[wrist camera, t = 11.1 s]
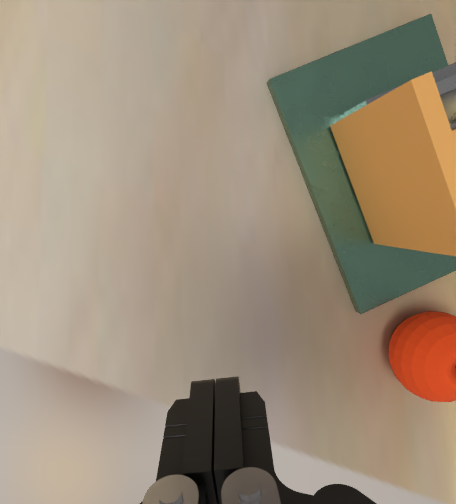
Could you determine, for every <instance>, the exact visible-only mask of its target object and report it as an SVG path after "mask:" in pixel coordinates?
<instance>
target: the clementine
mask: <svg viewBox="0 0 456 504" xmlns="http://www.w3.org/2000/svg"><path fill="white" fill-rule="evenodd" d="M388 353H389V360H390V364H391V367H392V370H393V372H394V374H395V376H396V377H397V379H398V380H399V381H400V382H401V383H402V385H403V386H404V387H405V388H406V389H407V390H409V391H410V392H412V393H413V394H415V395H417V396H419V397H421V398H423V399H426V400H430V401H438V402H451V401H455V400H456V316H453V315H450V314H447V313H442V312H431V311H428V312H423V313H419V314H416V315H413V316H411V317H409V318H407V319H405V320H404V321H403V322H402V323H401V324H400V325H399V326H398V327H397V328H396V330H395V331H394V333H393V335H392V337H391V340H390V343H389V351H388Z"/></svg>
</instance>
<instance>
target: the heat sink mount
mask: <svg viewBox="0 0 456 504" xmlns="http://www.w3.org/2000/svg"><path fill="white" fill-rule="evenodd" d="M431 71H432V74H433V77H434V80H435V83H436V85H437V88H438V91H439V94H440V97H441V100H442V103H443V106H444V109H445V112H446V115H447V118H448V121H449V124H450V127H451V130H452V129H455V128H456V63H453V64H451V65H449V66H448V63H447V60H446V57H445V54H444V51H443V48H442V45H441V42H440V39H439V36H438V33H437V30H436V27H435V24H434V21H433V18H432V15H431V14H429V15H427V16H424V17H422V18H419V19H417V20H414V21H412V22H409V23H407V24H405V25H402V26H400V27H397V28H395V29H392V30H390V31H387V32H385V33H382V34H380V35H377V36H375V37H372V38H370V39H368V40H365V41H363V42H360V43H358V44H355V45H353V46H350V47H348V48H345V49H343V50H340V51H338V52H335V53H333V54H331V55H328V56H326V57H323V58H321V59H318V60H316V61H313V62H311V63H308V64H306V65H303V66H301V67H298V68H296V69H294V70H291V71H289V72H286V73H284V74H281V75H279V76H276V77H274V78H271V79H269V81H268V82H267V85H268V87H269V90H270V92H271V95H272V98H273V100H274V103H275V105H276V108H277V110H278V113H279V116H280V118H281V121H282V123H283V126H284V128H285V131H286V134H287V136H288V139H289V141H290V144H291V146H292V149H293V152H294V154H295V157H296V159H297V162H298V164H299V167H300V169H301V172H302V175H303V177H304V180H305V182H306V185H307V187H308V190H309V193H310V195H311V198H312V200H313V203H314V205H315V208H316V211H317V213H318V216H319V218H320V221H321V223H322V226H323V229H324V231H325V234H326V236H327V239H328V241H329V244H330V246H331V249H332V252H333V254H334V257H335V259H336V262H337V264H338V267H339V270H340V272H341V275H342V277H343V280H344V282H345V285H346V288H347V290H348V293H349V295H350V298H351V300H352V303H353V306H354V308H355V311H356V312H358V313H360V314H362V313H364V312H366V311H368V310H370V309H373V308H375V307H377V306H379V305H381V304H383V303H386V302H388V301H390V300H392V299H394V298H397V297H399V296H401V295H403V294H405V293H407V292H410V291H412V290H414V289H416V288H418V287H421V286H423V285H425V284H427V283H429V282H431V281H434V280H436V279H438V278H440V277H442V276H445V275H447V274H449V273H451V272H453V271H455V270H456V256H450V255H443V254H437V253H430V252H424V251H417V250H411V249H404V248H398V247H391V246H385V245H378V244H374V242H373V239H372V237H371V234H370V231H369V229H368V226H367V223H366V221H365V218H364V215H363V213H362V210H361V207H360V205H359V202H358V199H357V197H356V194H355V191H354V189H353V186H352V183H351V181H350V178H349V175H348V173H347V170H346V167H345V165H344V162H343V159H342V157H341V154H340V151H339V149H338V146H337V143H336V141H335V138H334V135H333V133H332V130H331V127H330V126H331V125H332V124H334V123H336V122H338V121H339V120H341V119H343V118H345V117H346V116H348V115H350V114H352V113H353V112H355V111H357V110H359V109H361V108H362V107H364V106H366V105H368V104H369V103H371V102H373V101H375V100H376V99H378V98H380V97H382V96H383V95H385V94H387V93H389V92H391V91H392V90H394V89H396V88H398V87H399V86H401V85H403V84H405V83H406V82H408V81H410V80H412V79H414V78H417V77H419V76H422V75H424V74H426V73H429V72H431Z"/></svg>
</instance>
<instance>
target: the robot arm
mask: <svg viewBox="0 0 456 504" xmlns="http://www.w3.org/2000/svg"><path fill="white" fill-rule="evenodd" d="M165 426H166V428H165V431H164V439H163V443H162V449H161V455H160V461H159V467H158V473H157V479H156V482H155V483H154V484H153V485H152V486H151V487H150V488H149V489H148V490H147V493H146V494H145V496H144V499H143V502H141V503H140V504H376V503H375V502H373V501H372V500H371V499H369V498H368V497H366V496H365V495H364V494H362V493H361V492H359V491H358V490H356V489H355V488H353V487H350V486H347V485H343V484H332V485H328V486H325V487H323V488H321V489H320V490H318V491H317V492H316V493H315V495H314V496H313V495H308V494H303V493H299V492H296V491H293V490H291V489H289V488H288V487H286V486H285V485H284V484H282V483H281V481H280V480H279V479H278V478H277V476H276V474H275V471H274V466H273V459H272V451H271V444H270V437H269V430H268V423H267V415H266V408H265V402H264V401H263V399H262V398H261V397H260V395H259V394H258V393H257V392H256V391H255V392H246V393H241V392H240V384H239V377H229V378H220V379H216V384H215V380H214V379H211V380H202V381H192V382H191V389H190V398H189V399H180V400H176V401H175V402H174V404H173V405H172V407H171V408H170V409H169V411H168V413H167V419H166V425H165Z"/></svg>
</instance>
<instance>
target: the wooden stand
mask: <svg viewBox="0 0 456 504" xmlns="http://www.w3.org/2000/svg"><path fill="white" fill-rule="evenodd" d="M330 127H331V130H332V133H333V135H334V138H335V141H336V143H337V146H338V149H339V151H340V154H341V157H342V159H343V162H344V165H345V167H346V170H347V173H348V175H349V178H350V181H351V183H352V186H353V189H354V191H355V194H356V197H357V199H358V202H359V205H360V207H361V210H362V213H363V215H364V218H365V221H366V223H367V226H368V229H369V231H370V234H371V237H372V239H373V242H374V244H378V245H385V246H391V247H398V248H404V249H411V250H417V251H424V252H430V253H437V254H443V255H450V256H456V128H455V129H452V130H451V127H450V124H449V121H448V118H447V115H446V112H445V109H444V106H443V103H442V100H441V97H440V94H439V91H438V88H437V85H436V83H435V80H434V77H433V74H432V71H431V72H429V73H426V74H424V75H422V76H419V77H417V78H414V79H412V80H410V81H408V82H406V83H405V84H403V85H401V86H399V87H398V88H396V89H394V90H392V91H391V92H389V93H387V94H385V95H383V96H382V97H380V98H378V99H376V100H375V101H373V102H371V103H369V104H368V105H366V106H364V107H362V108H361V109H359V110H357V111H355V112H353V113H352V114H350V115H348V116H346V117H345V118H343V119H341V120H339V121H338V122H336V123H334V124H332V125H331V126H330Z"/></svg>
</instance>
